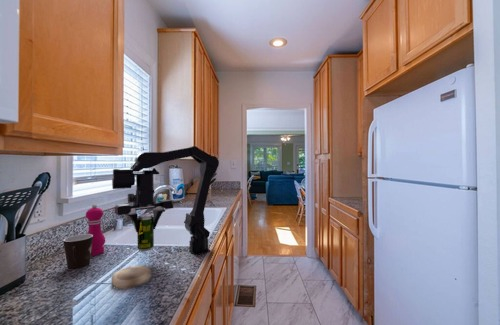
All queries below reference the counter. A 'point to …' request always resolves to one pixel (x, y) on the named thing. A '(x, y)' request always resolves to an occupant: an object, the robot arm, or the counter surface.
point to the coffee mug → (78, 250)
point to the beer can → (145, 232)
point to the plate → (131, 277)
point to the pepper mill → (95, 229)
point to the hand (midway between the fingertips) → (145, 230)
